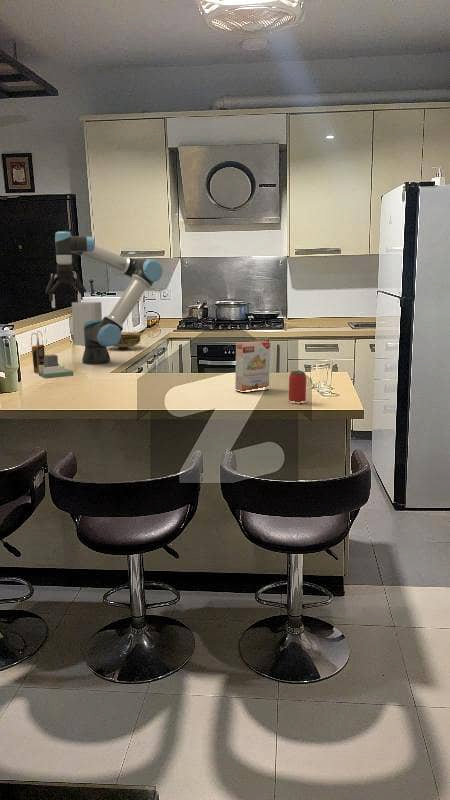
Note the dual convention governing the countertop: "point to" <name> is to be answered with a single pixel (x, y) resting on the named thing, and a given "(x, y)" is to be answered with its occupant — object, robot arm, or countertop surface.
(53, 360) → the plug
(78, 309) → the tall grey upright block
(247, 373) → the cracker box
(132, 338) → the ceramic bowl
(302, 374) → the beer can
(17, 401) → the countertop surface
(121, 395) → the countertop surface
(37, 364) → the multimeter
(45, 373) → the board
